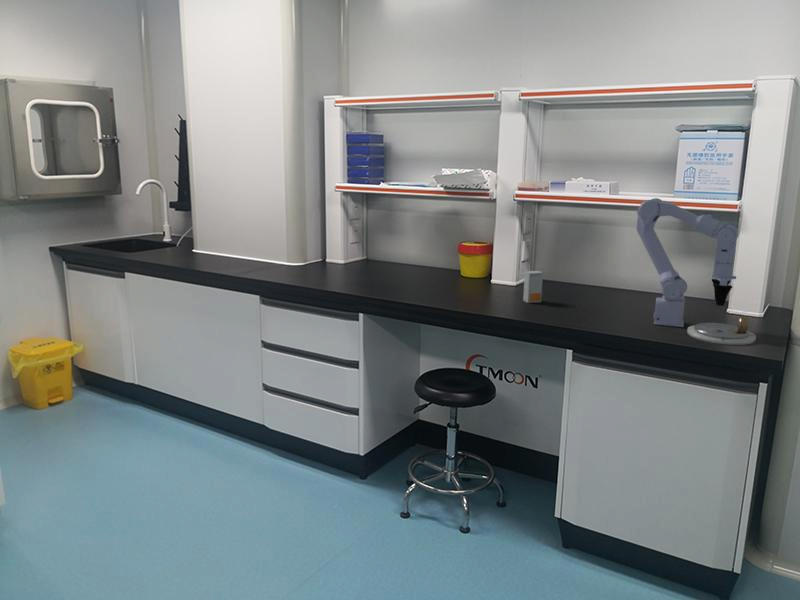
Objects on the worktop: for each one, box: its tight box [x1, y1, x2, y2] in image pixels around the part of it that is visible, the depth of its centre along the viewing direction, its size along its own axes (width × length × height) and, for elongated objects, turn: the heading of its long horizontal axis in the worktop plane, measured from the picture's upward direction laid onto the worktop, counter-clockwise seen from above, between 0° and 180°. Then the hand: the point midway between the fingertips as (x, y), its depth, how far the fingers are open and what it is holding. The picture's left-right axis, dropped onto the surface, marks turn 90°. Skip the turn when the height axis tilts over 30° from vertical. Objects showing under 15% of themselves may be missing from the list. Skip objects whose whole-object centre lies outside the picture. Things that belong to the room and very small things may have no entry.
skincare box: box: [522, 270, 544, 304], centre depth 254 cm, size 6×4×12 cm
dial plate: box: [686, 324, 757, 346], centre depth 209 cm, size 20×20×1 cm
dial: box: [694, 315, 750, 339], centre depth 208 cm, size 16×16×6 cm
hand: (719, 302), depth 214 cm, fingers open, 7 cm apart
